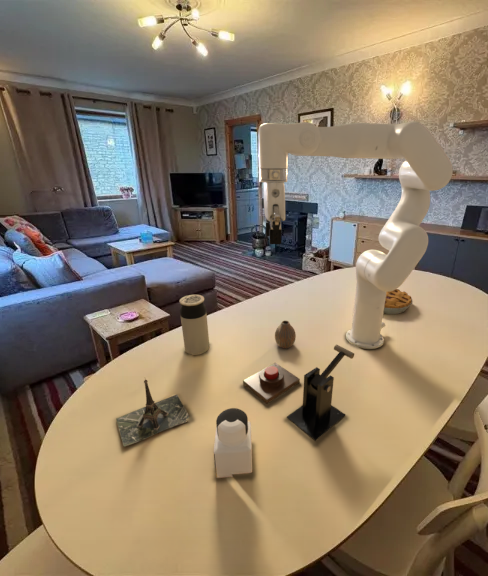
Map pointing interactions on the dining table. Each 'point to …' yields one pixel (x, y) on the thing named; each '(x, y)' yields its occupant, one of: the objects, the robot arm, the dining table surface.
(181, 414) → the eiffel tower figurine
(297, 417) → the switch bracket
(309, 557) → the dining table surface
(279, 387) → the housing
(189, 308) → the travel mug
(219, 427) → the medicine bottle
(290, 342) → the vase
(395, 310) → the pie
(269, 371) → the button
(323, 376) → the switch lever
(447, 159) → the robot arm
